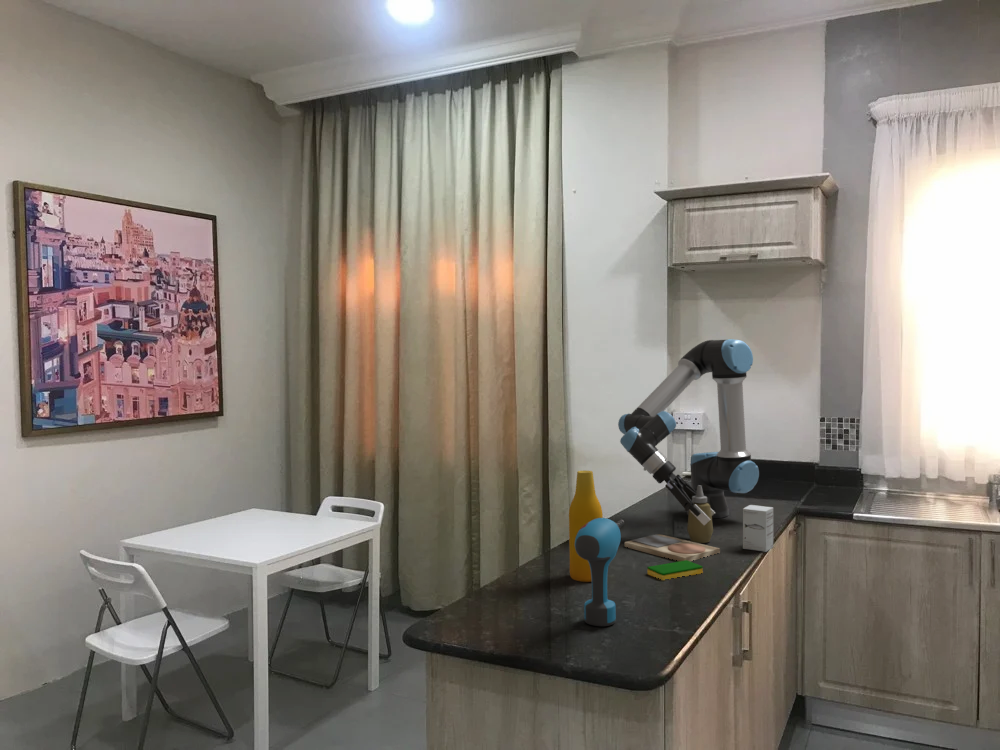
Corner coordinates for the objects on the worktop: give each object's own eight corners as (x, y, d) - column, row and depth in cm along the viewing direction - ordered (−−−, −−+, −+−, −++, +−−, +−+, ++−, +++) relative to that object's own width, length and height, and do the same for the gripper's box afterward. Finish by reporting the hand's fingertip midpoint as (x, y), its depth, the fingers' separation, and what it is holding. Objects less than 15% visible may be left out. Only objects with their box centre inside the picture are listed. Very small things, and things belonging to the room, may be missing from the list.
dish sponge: (646, 575, 210) (646, 566, 210) (686, 568, 216) (686, 559, 216) (662, 582, 204) (662, 573, 204) (703, 574, 210) (703, 566, 210)
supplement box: (742, 549, 234) (741, 508, 233) (750, 544, 240) (750, 504, 239) (766, 552, 229) (766, 511, 229) (774, 547, 235) (773, 506, 235)
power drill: (606, 595, 192) (605, 503, 192) (640, 599, 189) (639, 506, 188) (567, 633, 167) (565, 528, 166) (605, 639, 163) (603, 531, 163)
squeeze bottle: (714, 539, 247) (713, 483, 246) (712, 545, 239) (711, 488, 238) (688, 537, 249) (687, 482, 249) (686, 543, 242) (685, 487, 241)
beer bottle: (610, 578, 207) (609, 472, 206) (583, 584, 202) (582, 475, 201) (589, 570, 215) (587, 467, 214) (562, 576, 210) (561, 471, 209)
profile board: (659, 538, 249) (659, 533, 249) (719, 553, 230) (719, 547, 229) (624, 546, 239) (624, 541, 239) (684, 562, 220) (684, 556, 220)
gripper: (658, 470, 260) (706, 519, 254) (643, 480, 239) (695, 534, 234) (674, 455, 258) (723, 504, 252) (660, 464, 237) (713, 518, 231)
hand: (709, 519), depth 243 cm, fingers open, 10 cm apart
